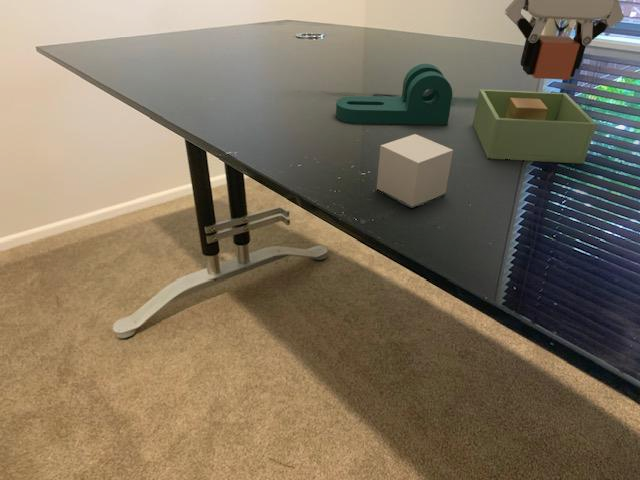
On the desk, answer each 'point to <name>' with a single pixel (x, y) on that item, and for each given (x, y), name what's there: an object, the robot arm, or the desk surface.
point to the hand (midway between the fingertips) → (547, 71)
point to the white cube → (414, 169)
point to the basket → (533, 128)
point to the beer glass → (559, 27)
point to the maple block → (526, 109)
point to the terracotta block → (555, 57)
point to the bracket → (403, 102)
